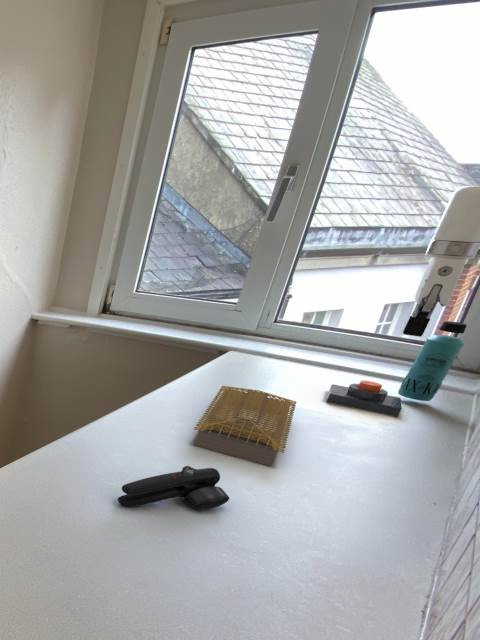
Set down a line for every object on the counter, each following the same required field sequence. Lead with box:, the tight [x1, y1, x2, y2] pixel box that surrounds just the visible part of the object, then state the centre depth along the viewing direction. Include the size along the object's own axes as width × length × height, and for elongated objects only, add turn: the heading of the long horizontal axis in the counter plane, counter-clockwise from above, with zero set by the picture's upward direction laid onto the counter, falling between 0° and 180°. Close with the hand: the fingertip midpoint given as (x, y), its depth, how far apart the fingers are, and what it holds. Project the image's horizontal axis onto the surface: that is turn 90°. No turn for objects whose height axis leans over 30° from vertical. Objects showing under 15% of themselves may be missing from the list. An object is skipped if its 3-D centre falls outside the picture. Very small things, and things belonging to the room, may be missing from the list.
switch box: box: [325, 383, 403, 418], centre depth 132 cm, size 13×10×4 cm
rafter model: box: [193, 385, 297, 467], centre depth 114 cm, size 35×14×6 cm, turn 140°
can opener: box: [117, 465, 230, 511], centre depth 86 cm, size 18×7×6 cm, turn 100°
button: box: [358, 380, 383, 392], centre depth 131 cm, size 4×4×2 cm
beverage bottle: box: [397, 320, 468, 402], centre depth 131 cm, size 6×7×20 cm
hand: (411, 334), depth 125 cm, fingers closed
